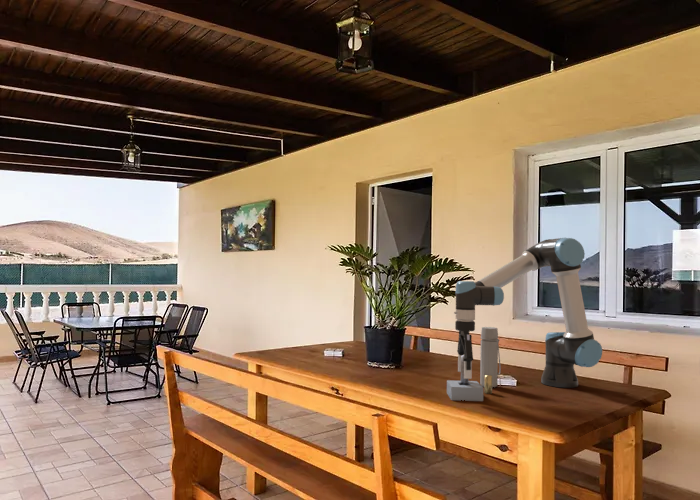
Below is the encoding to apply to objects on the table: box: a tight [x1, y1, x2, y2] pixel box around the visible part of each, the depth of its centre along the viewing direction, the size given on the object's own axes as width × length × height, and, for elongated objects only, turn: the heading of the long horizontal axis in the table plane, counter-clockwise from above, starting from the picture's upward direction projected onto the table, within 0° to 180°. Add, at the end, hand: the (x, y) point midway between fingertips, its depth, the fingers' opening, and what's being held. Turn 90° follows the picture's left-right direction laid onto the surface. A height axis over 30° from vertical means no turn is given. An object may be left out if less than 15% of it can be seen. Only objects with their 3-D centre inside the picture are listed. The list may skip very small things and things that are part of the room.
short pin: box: [483, 375, 493, 395], centre depth 211 cm, size 3×3×7 cm
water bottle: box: [479, 326, 502, 389], centre depth 224 cm, size 9×8×25 cm
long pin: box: [460, 355, 469, 385], centre depth 203 cm, size 3×3×16 cm
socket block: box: [446, 379, 484, 402], centre depth 203 cm, size 12×12×5 cm
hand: (464, 374), depth 203 cm, fingers open, 13 cm apart
